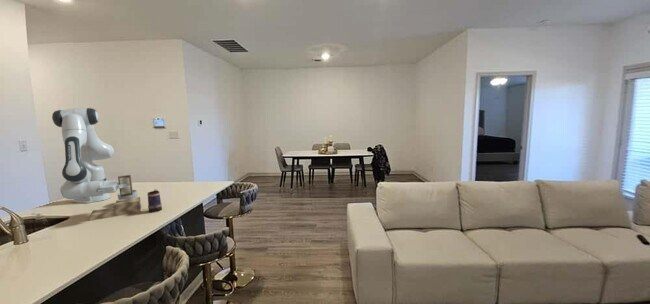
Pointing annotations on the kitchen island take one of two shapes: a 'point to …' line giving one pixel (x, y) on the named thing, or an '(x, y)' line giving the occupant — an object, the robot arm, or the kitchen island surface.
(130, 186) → the frame
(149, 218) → the kitchen island surface
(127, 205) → the stand
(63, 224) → the kitchen island surface
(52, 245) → the kitchen island surface
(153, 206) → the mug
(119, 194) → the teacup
